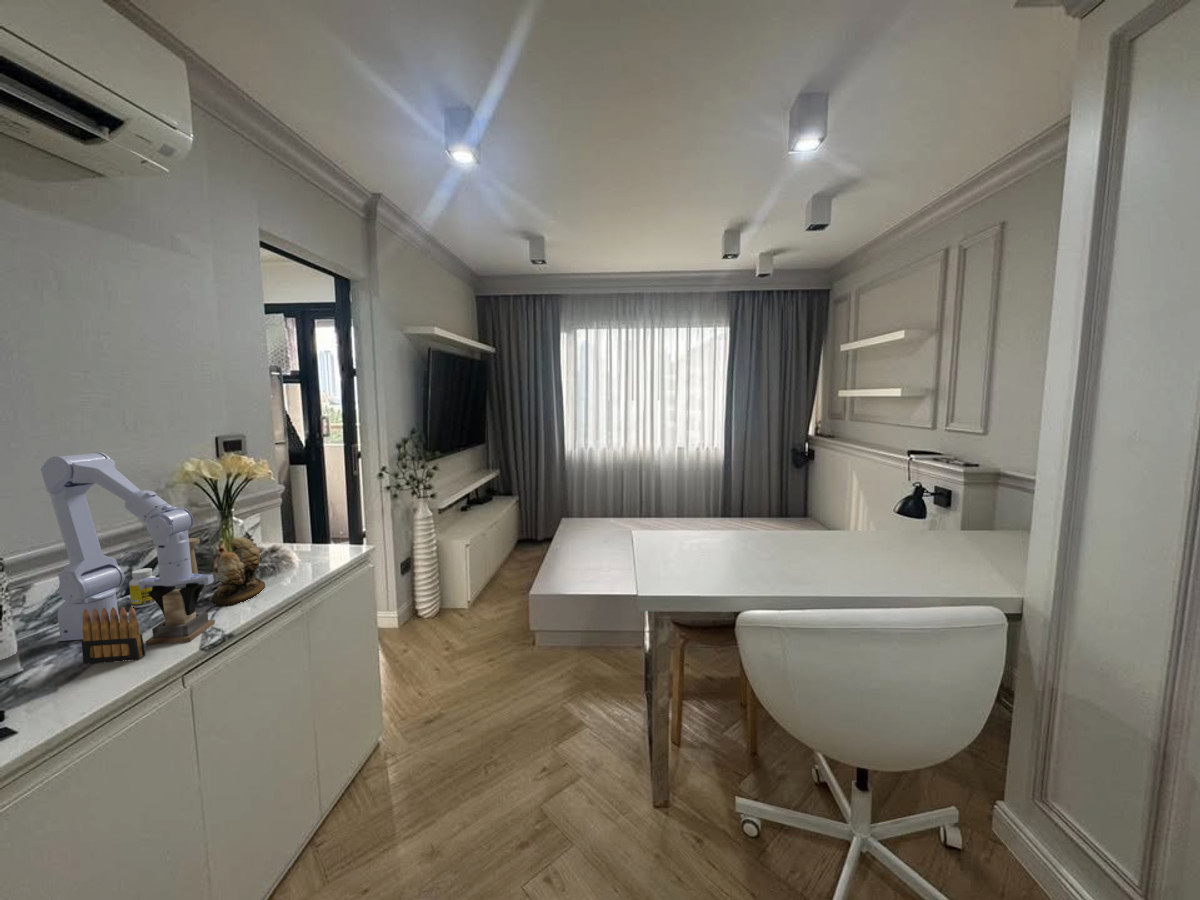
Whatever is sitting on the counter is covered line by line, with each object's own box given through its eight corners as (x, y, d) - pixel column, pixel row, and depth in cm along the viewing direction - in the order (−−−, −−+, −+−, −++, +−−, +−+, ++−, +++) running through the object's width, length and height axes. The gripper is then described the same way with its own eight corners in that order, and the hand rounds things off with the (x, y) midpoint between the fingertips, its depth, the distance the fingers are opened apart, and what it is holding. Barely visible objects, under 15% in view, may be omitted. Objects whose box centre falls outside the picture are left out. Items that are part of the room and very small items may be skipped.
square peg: (165, 628, 109) (162, 596, 108) (177, 620, 113) (174, 589, 112) (185, 626, 110) (181, 594, 109) (196, 619, 114) (193, 588, 113)
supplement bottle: (142, 609, 125) (138, 574, 124) (126, 607, 126) (122, 573, 125) (164, 600, 130) (160, 567, 129) (148, 599, 131) (144, 566, 130)
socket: (146, 645, 106) (144, 630, 106) (174, 626, 115) (173, 613, 115) (190, 641, 108) (189, 627, 108) (214, 623, 117) (213, 610, 116)
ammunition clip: (82, 664, 99) (76, 611, 97) (91, 659, 101) (84, 607, 99) (138, 660, 100) (132, 607, 99) (145, 655, 102) (140, 604, 101)
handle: (195, 591, 137) (190, 542, 135) (172, 592, 136) (167, 543, 134) (207, 584, 141) (203, 537, 140) (185, 585, 141) (180, 538, 139)
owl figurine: (226, 585, 141) (222, 531, 139) (272, 580, 145) (268, 528, 144) (201, 609, 124) (196, 549, 123) (254, 603, 129) (249, 544, 127)
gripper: (219, 552, 115) (224, 604, 116) (152, 556, 112) (158, 609, 114) (200, 562, 108) (205, 617, 109) (128, 566, 105) (135, 622, 107)
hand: (180, 614), depth 111 cm, fingers closed on square peg, 4 cm apart
